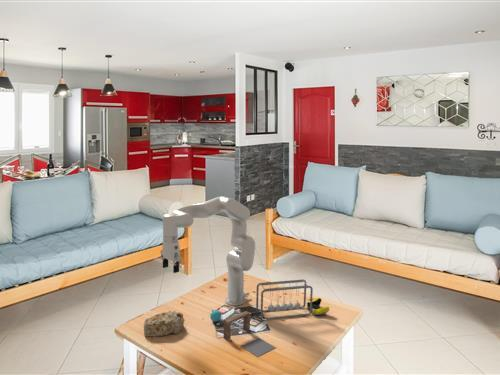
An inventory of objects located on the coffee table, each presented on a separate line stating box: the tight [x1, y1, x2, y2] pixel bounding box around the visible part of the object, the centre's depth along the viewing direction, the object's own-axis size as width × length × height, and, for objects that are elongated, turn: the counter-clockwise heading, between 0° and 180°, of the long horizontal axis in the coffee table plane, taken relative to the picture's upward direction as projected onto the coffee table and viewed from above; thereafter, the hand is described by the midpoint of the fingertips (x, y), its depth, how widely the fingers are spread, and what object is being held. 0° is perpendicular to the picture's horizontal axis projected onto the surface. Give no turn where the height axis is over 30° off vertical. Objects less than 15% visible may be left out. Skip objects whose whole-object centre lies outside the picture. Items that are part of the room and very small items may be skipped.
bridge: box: [223, 310, 251, 341], centre depth 210 cm, size 3×15×10 cm, turn 132°
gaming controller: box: [306, 297, 330, 316], centre depth 237 cm, size 15×6×10 cm
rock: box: [143, 310, 185, 337], centre depth 213 cm, size 21×14×10 cm
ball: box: [209, 309, 222, 323], centre depth 223 cm, size 6×6×6 cm
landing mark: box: [240, 337, 277, 358], centre depth 199 cm, size 12×12×1 cm
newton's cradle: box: [255, 278, 314, 321], centre depth 232 cm, size 30×10×18 cm, turn 104°
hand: (170, 269), depth 214 cm, fingers open, 9 cm apart
